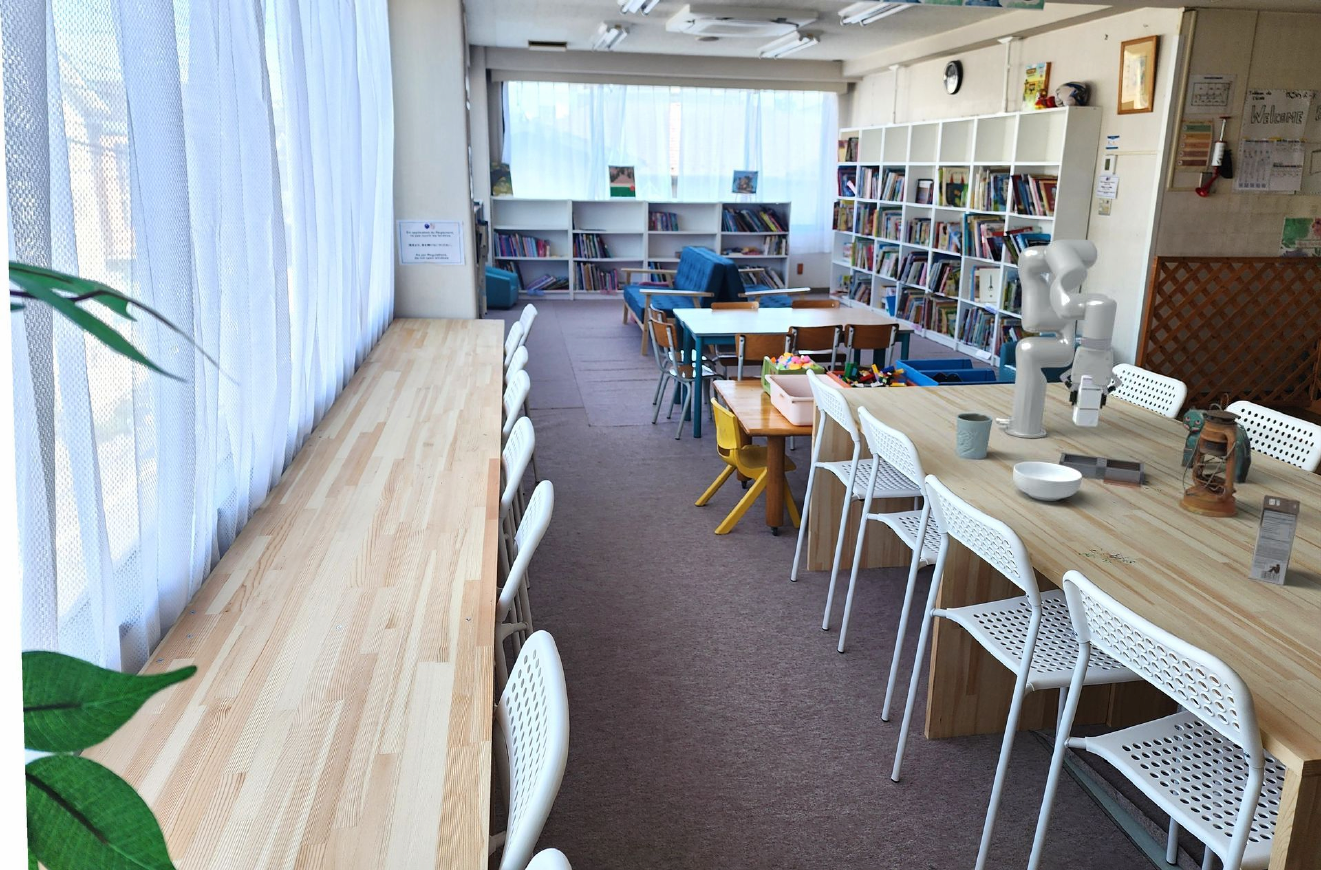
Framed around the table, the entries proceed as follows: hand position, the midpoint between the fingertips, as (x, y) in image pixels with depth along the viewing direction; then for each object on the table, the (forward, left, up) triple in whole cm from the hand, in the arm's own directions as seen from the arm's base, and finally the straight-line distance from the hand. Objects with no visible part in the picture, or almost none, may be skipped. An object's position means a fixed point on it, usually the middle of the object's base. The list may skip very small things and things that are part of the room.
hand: (1086, 405), depth 261 cm
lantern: (+31, -19, -19) cm, 41 cm away
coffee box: (+40, -60, -19) cm, 74 cm away
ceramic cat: (+34, +15, -19) cm, 42 cm away
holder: (+6, -2, -19) cm, 20 cm away
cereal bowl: (-7, -27, -19) cm, 34 cm away
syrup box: (0, 0, -5) cm, 5 cm away
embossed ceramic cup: (-30, +1, -19) cm, 36 cm away
